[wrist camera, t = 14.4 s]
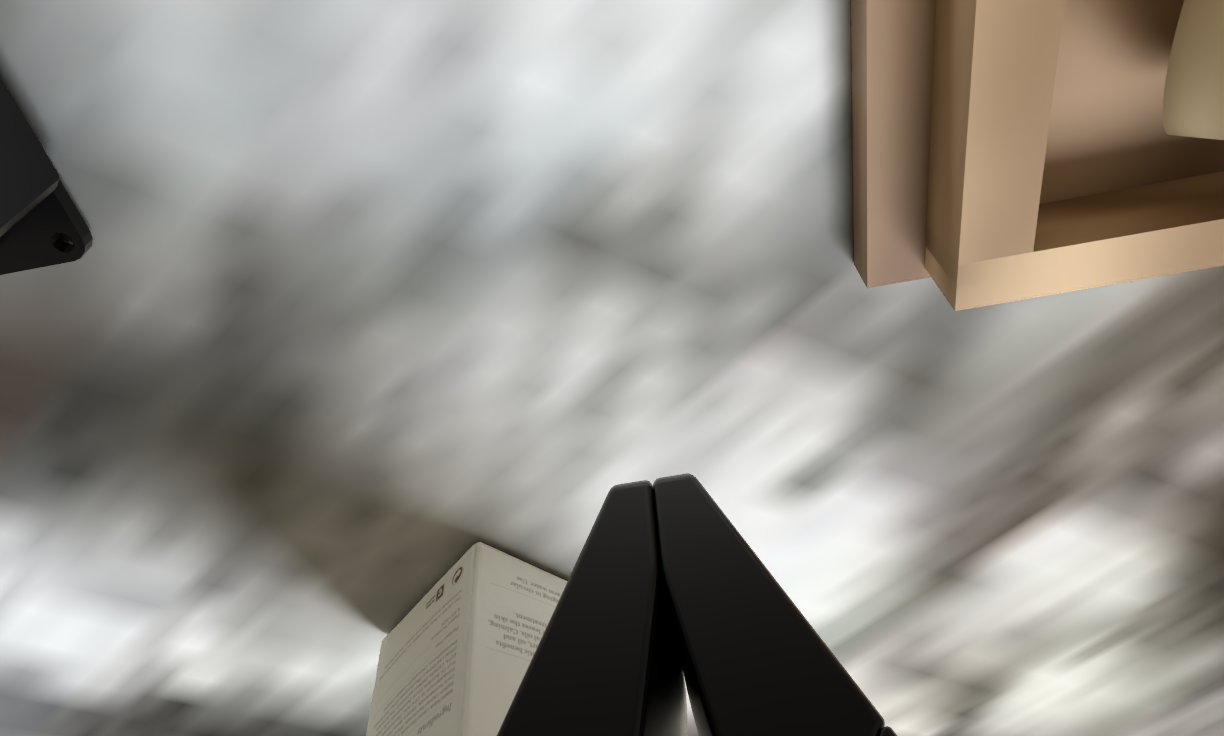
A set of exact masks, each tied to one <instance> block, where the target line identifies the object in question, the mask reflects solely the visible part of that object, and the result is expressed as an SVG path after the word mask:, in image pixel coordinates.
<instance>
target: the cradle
mask: <svg viewBox="0 0 1224 736" xmlns="http://www.w3.org/2000/svg"><path fill="white" fill-rule="evenodd" d="M1183 3H1184V0H851V56H852V133H853V211H854V265H855V267H856V269H857V270H858V272H859V274H860V276H861V278H862V279H863V281H864V283H865V285H866V286H867V288H871V287H877V286H882V285H888V284H894V283H900V282H905V281H911V280H917V279H923V278H929V277H932V279H933V280H934V282H935V283H936V284H937V286H938V287H939V289H940V290H941V292H942V293H943V294H944V296H945V297H946V299H947V300H948V302H949V303H950V305H951V306H952V307H953V309H954V310H955V311H958V310H964V309H970V308H976V307H982V306H988V305H994V304H999V303H1005V302H1011V301H1017V300H1023V299H1029V298H1035V297H1041V296H1046V295H1052V294H1058V293H1064V292H1070V291H1076V290H1082V289H1087V288H1093V287H1099V286H1105V285H1111V284H1117V283H1123V282H1129V281H1134V280H1140V279H1146V278H1152V277H1158V276H1164V275H1170V274H1176V273H1181V272H1187V271H1193V270H1199V269H1205V268H1211V267H1217V266H1223V265H1224V140H1217V139H1206V138H1196V137H1186V136H1175V135H1168V134H1167V133H1166V132H1165V130H1164V127H1163V113H1162V112H1163V97H1164V88H1165V81H1166V74H1167V69H1168V63H1169V58H1170V54H1171V49H1172V45H1173V40H1174V36H1175V32H1176V28H1177V24H1178V21H1179V17H1180V13H1181V10H1182V6H1183Z"/></svg>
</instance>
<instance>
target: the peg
mask: <svg viewBox="0 0 1224 736" xmlns="http://www.w3.org/2000/svg"><path fill="white" fill-rule="evenodd" d="M1162 113H1163V127H1164V130H1165V132H1166V133H1167V134H1168V135H1175V136H1186V137H1196V138H1206V139H1217V140H1224V0H1184V3H1183V6H1182V10H1181V13H1180V17H1179V21H1178V24H1177V28H1176V32H1175V36H1174V40H1173V45H1172V49H1171V54H1170V58H1169V63H1168V69H1167V74H1166V81H1165V88H1164V97H1163V112H1162Z"/></svg>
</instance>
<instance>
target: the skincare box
mask: <svg viewBox="0 0 1224 736" xmlns="http://www.w3.org/2000/svg"><path fill="white" fill-rule="evenodd" d="M567 582H568V581H566V580H563V579H561V578H559V577H557V576H555V575H552V574H550V573H548V572H546V571H543V570H541V569H539V568H537V567H535V566H533V565H530V564H528V563H526V562H524V561H522V560H520V559H517V558H515V557H513V556H510V555H508V554H506V553H504V552H502V551H500V550H497V549H495V548H493V547H491V546H489V545H486V544H484V543H482V542H477V543H476V544H474V545H473V546H471V548H470V549H469V550H468V551H467V552H466V553H465V554H464V555H463V556H462V557H461V558H460V559H459V560H458V561H457V562H456V563H455V564H454V565H453V566H452V568H451V569H450V570H449V571H448V572H447V573H446V574H445V575H444V576H443V577H442V578H441V579H440V580H439V581H438V582H437V583H436V584H435V585H434V586H433V587H432V588H431V590H430V591H429V592H428V593H427V594H426V595H425V596H424V597H423V598H422V599H421V600H420V601H419V602H418V603H417V604H416V606H415V607H414V608H413V609H412V610H411V611H410V612H409V613H408V614H407V615H406V616H405V617H404V618H403V620H402V621H401V622H400V623H399V624H398V625H397V626H396V627H395V628H394V629H393V630H392V631H391V632H390V633H389V634H388V635H387V636H386V637H385V638H384V639H383V641H382V645H381V650H380V655H379V663H378V668H377V675H376V682H375V687H374V692H373V697H372V703H371V709H370V716H369V721H368V728H367V733H366V736H497V734H498V731H499V729H500V727H501V725H502V723H503V721H504V718H505V716H506V714H507V712H508V710H509V708H510V705H511V703H512V701H513V699H514V697H515V695H516V692H517V690H518V688H519V686H520V684H521V682H522V679H523V677H524V675H525V673H526V671H527V668H528V666H529V664H530V662H531V660H532V658H533V655H534V653H535V651H536V649H537V647H538V645H539V642H540V640H541V638H542V636H543V634H544V632H545V629H546V627H547V625H548V623H549V621H550V619H551V616H552V614H553V612H554V610H555V608H556V606H557V603H558V601H559V599H560V597H561V595H562V592H563V590H564V588H565V586H566V584H567Z"/></svg>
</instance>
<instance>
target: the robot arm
mask: <svg viewBox="0 0 1224 736" xmlns="http://www.w3.org/2000/svg"><path fill="white" fill-rule="evenodd" d="M59 233H63V234H65V235H67V236H69V237H70V238H71V239H72V241H73V243H74V244H69V243H67V242H65V241H64V240H63V239H62V238H61V237H60V235H59ZM92 240H93V238H92V235H91V233H90V230H89V229H88V227H87V225H86V224H85V222H84V220H83V219H82V217H81V215H80V214H79V212H78V210H77V209H76V207H75V205H74V204H73V202H72V200H71V199H70V197H69V195H68V194H67V192H66V190H65V189H64V187H63V185H62V184H61V182H60V180H59V174H58V173H57V171H56V169H55V168H54V166H53V164H52V163H51V161H50V159H49V158H48V156H47V154H46V152H45V151H44V149H43V147H42V146H41V144H40V142H39V141H38V139H37V137H36V136H35V134H34V132H33V131H32V129H31V127H30V126H29V124H28V122H27V121H26V119H25V117H24V116H23V114H22V112H21V111H20V109H19V107H18V106H17V104H16V102H15V101H14V99H13V97H12V96H11V94H10V92H9V91H8V89H7V87H6V85H5V84H4V82H3V80H2V79H1V77H0V275H2V274H7V273H13V272H18V271H23V270H29V269H34V268H39V267H45V266H50V265H55V264H61V263H66V262H71V261H75V260H77V259H80V258H81V257H82V256H83V255H84V254H85V253H86V252H87V251H88V250H89V249H90V247H91V246H92ZM684 677H685V680H684ZM685 682H686V686H687V691H688V695H689V699H690V703H691V708H692V712H693V716H694V720H695V723H696V727H697V731H698V734H699V736H897V735H896V734H895V732H894V731H893V730H892V729H891V728H890V727H888V726H886V727H884V723H885V722H884V719H883V718H882V716H881V715H880V714H879V712H878V711H877V710H876V709H875V707H874V706H873V705H872V703H871V702H870V701H869V700H868V698H867V697H866V696H865V694H864V693H863V692H862V691H861V689H860V688H859V687H858V685H857V684H856V683H855V682H854V680H853V679H852V678H851V676H850V675H849V674H848V673H847V671H846V670H845V669H844V667H843V666H842V665H841V664H840V662H839V661H838V660H837V658H836V657H835V656H834V655H833V653H832V652H831V651H830V649H829V648H828V647H827V646H826V644H825V643H824V642H823V640H822V639H821V638H820V637H819V635H818V634H817V633H816V631H815V630H814V629H813V628H812V626H811V625H810V624H809V622H808V621H807V620H806V619H805V617H804V616H803V615H802V613H801V612H800V611H799V610H798V608H797V607H796V606H795V604H794V603H793V602H792V600H791V599H790V598H789V597H788V595H787V594H786V593H785V591H784V590H783V589H782V588H781V586H780V585H779V584H778V582H777V581H776V580H775V579H774V577H773V576H772V575H771V573H770V572H769V571H768V570H767V568H766V567H765V566H764V564H763V563H762V562H761V561H760V559H759V558H758V557H757V555H756V554H755V553H754V552H753V550H752V549H751V548H750V546H749V545H748V544H747V543H746V541H745V540H744V539H743V537H742V536H741V535H740V534H739V532H738V531H737V530H736V528H735V527H734V526H733V525H732V523H731V522H730V521H729V519H728V518H727V517H726V516H725V514H724V513H723V512H722V510H721V509H720V508H719V507H718V505H717V504H716V503H715V501H714V500H713V499H712V498H711V496H710V495H709V494H708V492H707V491H706V490H705V489H704V487H703V486H702V485H701V483H700V482H699V481H698V480H697V478H696V477H694V476H693V475H691V474H682V475H675V476H669V477H663V478H658V479H656V480H655V481H654V484H653V486H652V484H651V483H650V482H649V481H638V482H632V483H626V484H620V485H615V486H614V487H612V488H611V489H610V491H609V493H608V495H607V497H606V499H605V501H604V503H603V506H602V508H601V510H600V512H599V514H598V516H597V519H596V521H595V523H594V525H593V527H592V530H591V532H590V534H589V536H588V538H587V540H586V543H585V545H584V547H583V549H582V551H581V553H580V556H579V558H578V560H577V562H576V564H575V566H574V569H573V571H572V573H571V575H570V577H569V579H568V582H567V584H566V586H565V588H564V590H563V592H562V595H561V597H560V599H559V601H558V603H557V606H556V608H555V610H554V612H553V614H552V616H551V619H550V621H549V623H548V625H547V627H546V629H545V632H544V634H543V636H542V638H541V640H540V642H539V645H538V647H537V649H536V651H535V653H534V655H533V658H532V660H531V662H530V664H529V666H528V668H527V671H526V673H525V675H524V677H523V679H522V682H521V684H520V686H519V688H518V690H517V692H516V695H515V697H514V699H513V701H512V703H511V705H510V708H509V710H508V712H507V714H506V716H505V718H504V721H503V723H502V725H501V727H500V729H499V731H498V734H497V736H688V733H687V704H686V689H685Z"/></svg>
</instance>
